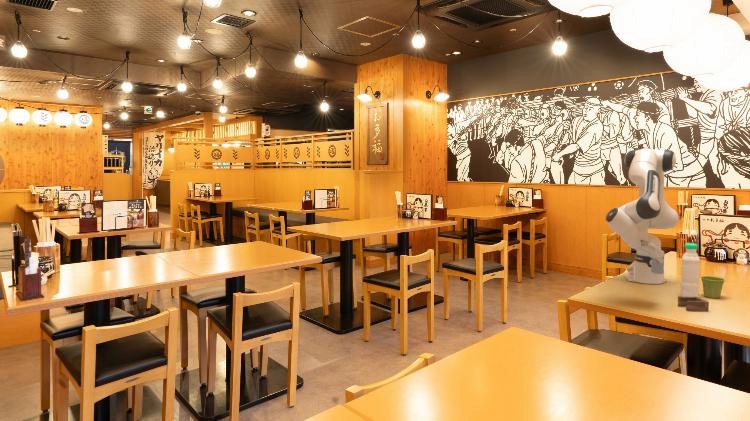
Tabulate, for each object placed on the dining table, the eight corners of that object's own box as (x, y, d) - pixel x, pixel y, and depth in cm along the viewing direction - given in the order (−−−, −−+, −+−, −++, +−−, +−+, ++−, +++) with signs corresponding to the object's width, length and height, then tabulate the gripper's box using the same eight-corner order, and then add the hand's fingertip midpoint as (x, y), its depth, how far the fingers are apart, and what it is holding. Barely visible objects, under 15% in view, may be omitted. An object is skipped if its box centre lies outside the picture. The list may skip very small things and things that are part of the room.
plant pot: (720, 294, 224) (721, 276, 223) (727, 300, 215) (728, 281, 214) (697, 293, 227) (697, 275, 226) (703, 298, 218) (704, 279, 217)
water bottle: (701, 299, 216) (703, 245, 214) (684, 299, 217) (686, 244, 215) (694, 295, 223) (696, 242, 220) (677, 295, 224) (679, 242, 222)
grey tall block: (651, 272, 213) (652, 249, 212) (659, 272, 212) (660, 249, 211) (655, 273, 209) (656, 251, 208) (663, 273, 209) (664, 251, 208)
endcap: (677, 305, 207) (678, 296, 207) (697, 305, 206) (697, 296, 206) (688, 311, 199) (688, 301, 199) (708, 311, 198) (708, 301, 198)
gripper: (653, 237, 200) (677, 260, 199) (632, 230, 220) (653, 251, 220) (642, 247, 200) (665, 270, 200) (621, 240, 221) (643, 261, 221)
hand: (659, 260), depth 210 cm, fingers closed on grey tall block, 3 cm apart
